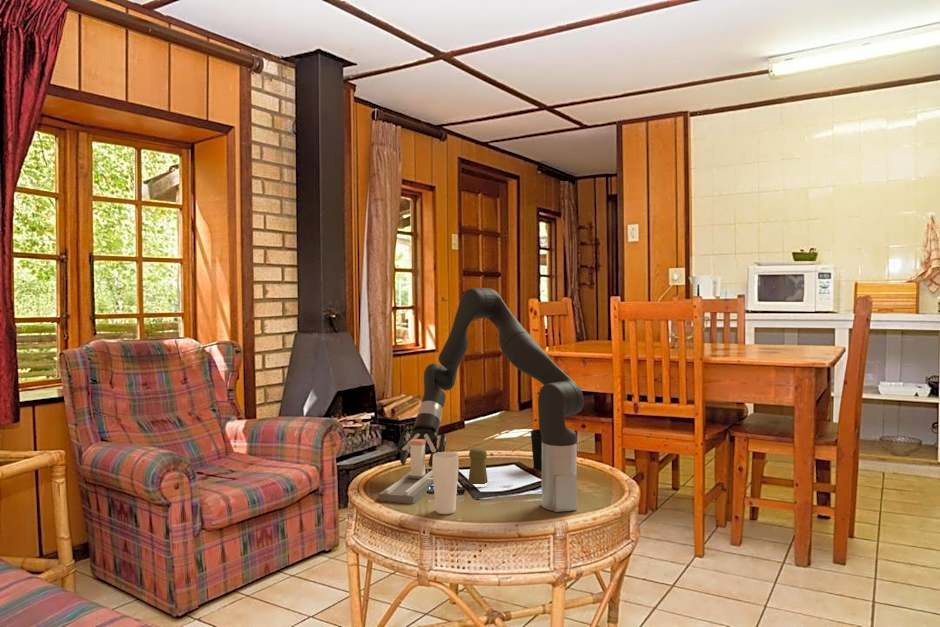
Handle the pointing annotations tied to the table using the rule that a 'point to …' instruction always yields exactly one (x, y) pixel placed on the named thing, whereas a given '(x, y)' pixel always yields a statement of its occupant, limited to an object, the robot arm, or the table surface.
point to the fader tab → (417, 458)
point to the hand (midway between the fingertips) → (416, 464)
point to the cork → (478, 466)
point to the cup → (537, 449)
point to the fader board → (407, 489)
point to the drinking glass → (445, 481)
